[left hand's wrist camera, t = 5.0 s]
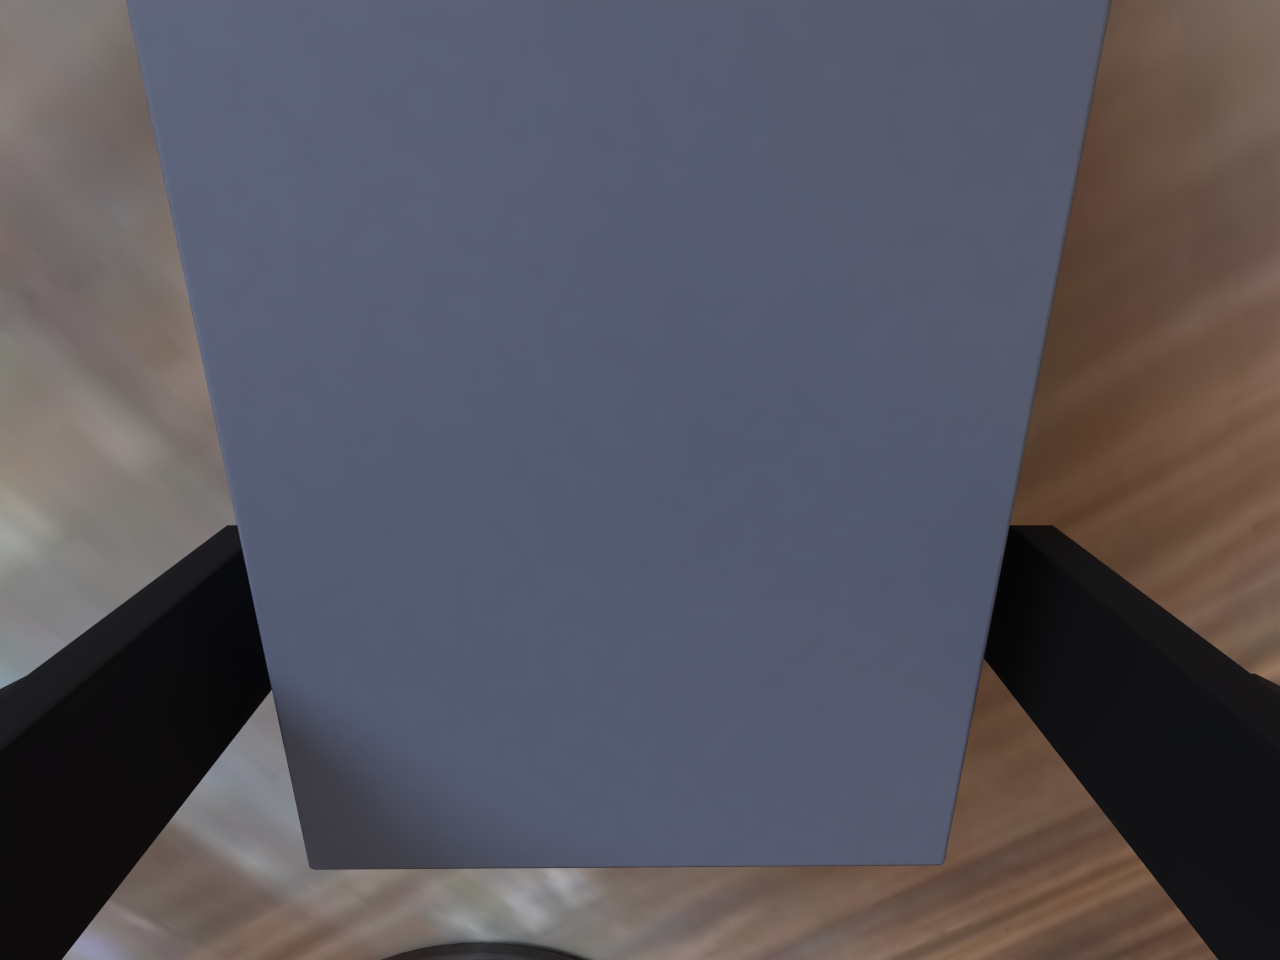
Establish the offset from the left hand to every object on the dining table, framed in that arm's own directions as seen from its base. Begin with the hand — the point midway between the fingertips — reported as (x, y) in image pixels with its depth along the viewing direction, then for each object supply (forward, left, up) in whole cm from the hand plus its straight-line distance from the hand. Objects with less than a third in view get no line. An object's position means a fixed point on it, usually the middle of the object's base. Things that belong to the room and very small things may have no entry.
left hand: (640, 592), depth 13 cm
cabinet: (+6, -3, -7) cm, 10 cm away
